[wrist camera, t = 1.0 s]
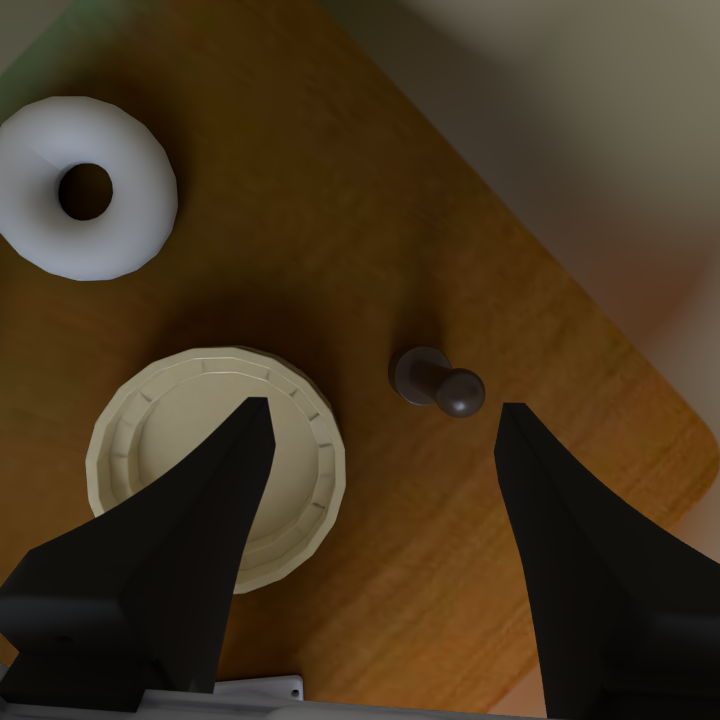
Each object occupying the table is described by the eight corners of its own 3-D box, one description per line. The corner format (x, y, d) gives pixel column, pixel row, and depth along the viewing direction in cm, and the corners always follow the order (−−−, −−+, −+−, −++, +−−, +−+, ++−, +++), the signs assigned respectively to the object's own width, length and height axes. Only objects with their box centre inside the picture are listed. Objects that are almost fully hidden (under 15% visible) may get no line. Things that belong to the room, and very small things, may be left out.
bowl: (345, 555, 29) (348, 586, 26) (123, 570, 28) (95, 605, 24) (339, 342, 28) (342, 344, 25) (108, 348, 27) (76, 351, 23)
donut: (148, 310, 27) (212, 160, 27) (122, 309, 24) (195, 136, 23) (-14, 240, 26) (49, 81, 25) (-65, 228, 23) (7, 44, 22)
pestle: (442, 398, 29) (509, 437, 19) (388, 400, 29) (426, 441, 18) (441, 343, 29) (509, 352, 18) (387, 345, 28) (425, 355, 18)
